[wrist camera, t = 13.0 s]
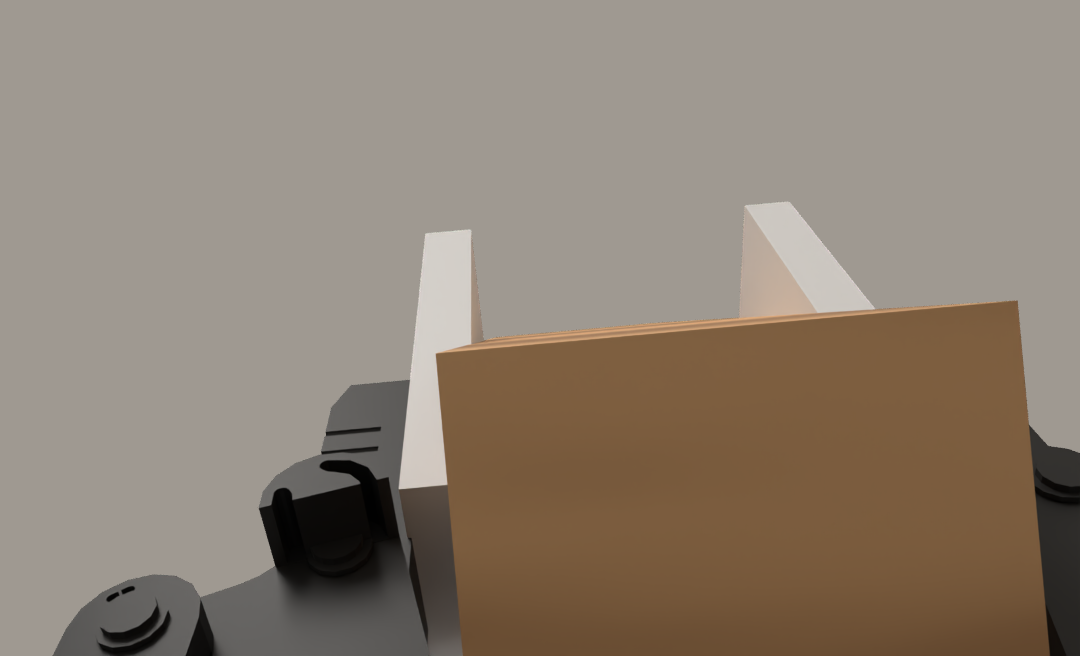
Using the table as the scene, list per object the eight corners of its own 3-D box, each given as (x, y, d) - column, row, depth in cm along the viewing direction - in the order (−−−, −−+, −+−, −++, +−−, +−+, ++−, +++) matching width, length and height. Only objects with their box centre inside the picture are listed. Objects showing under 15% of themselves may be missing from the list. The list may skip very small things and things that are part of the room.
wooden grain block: (1063, 805, 7) (1016, 300, 7) (482, 865, 7) (435, 353, 7) (668, 462, 26) (656, 323, 26) (508, 477, 26) (496, 337, 26)
